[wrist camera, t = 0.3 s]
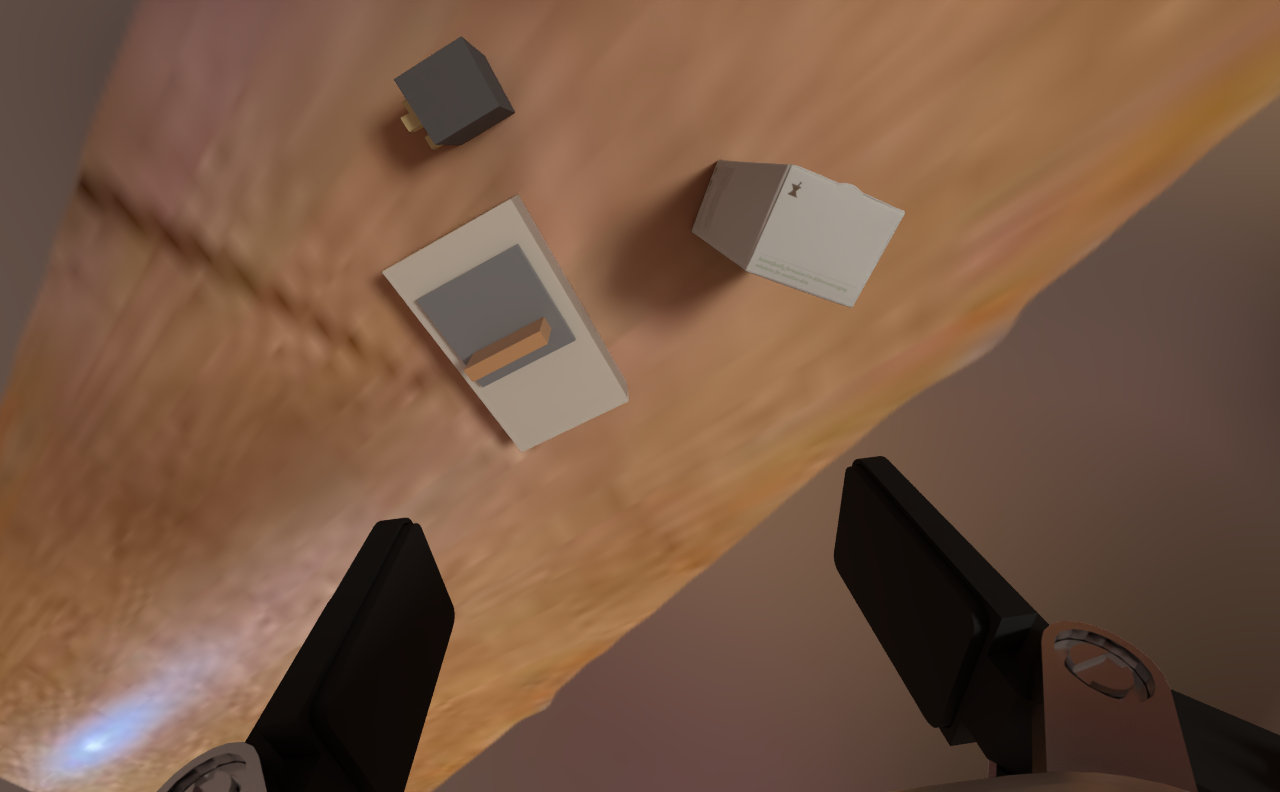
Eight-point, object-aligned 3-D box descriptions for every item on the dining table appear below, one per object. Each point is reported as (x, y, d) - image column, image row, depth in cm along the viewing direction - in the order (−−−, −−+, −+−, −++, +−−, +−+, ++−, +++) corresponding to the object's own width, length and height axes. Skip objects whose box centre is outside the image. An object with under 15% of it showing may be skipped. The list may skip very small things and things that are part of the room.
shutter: (418, 298, 38) (400, 314, 35) (518, 243, 37) (509, 253, 33) (484, 384, 42) (473, 406, 39) (575, 337, 41) (574, 356, 37)
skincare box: (689, 231, 42) (735, 272, 28) (719, 152, 39) (787, 155, 25) (771, 261, 44) (852, 314, 30) (805, 188, 41) (912, 210, 27)
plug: (413, 100, 35) (375, 91, 29) (484, 55, 34) (461, 36, 28) (446, 153, 37) (417, 155, 31) (515, 112, 36) (499, 106, 30)
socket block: (400, 261, 41) (381, 271, 37) (518, 194, 39) (510, 198, 35) (526, 430, 50) (521, 452, 46) (626, 382, 48) (629, 400, 45)
